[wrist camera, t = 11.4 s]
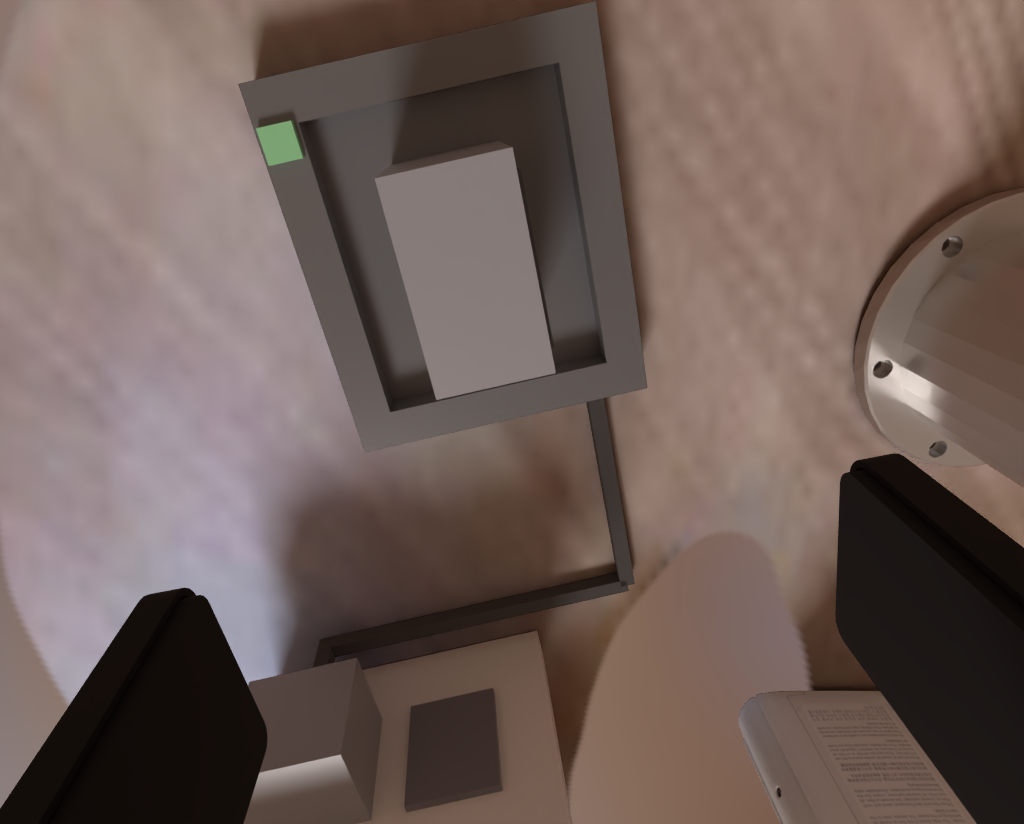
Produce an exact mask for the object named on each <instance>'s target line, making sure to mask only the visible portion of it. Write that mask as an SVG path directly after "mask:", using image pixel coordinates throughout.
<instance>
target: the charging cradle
mask: <svg viewBox="0 0 1024 824" xmlns="http://www.w3.org/2000/svg"><path fill="white" fill-rule="evenodd" d="M238 85H239V88H240V91H241V94H242V97H243V99H244V102H245V105H246V108H247V111H248V114H249V117H250V120H251V123H252V126H253V129H254V131H255V134H256V137H257V140H258V143H259V146H260V149H261V152H262V155H263V158H264V160H265V163H266V166H267V169H268V172H269V175H270V178H271V181H272V184H273V187H274V189H275V192H276V195H277V198H278V201H279V204H280V207H281V210H282V213H283V216H284V218H285V221H286V224H287V227H288V230H289V233H290V236H291V239H292V242H293V245H294V247H295V250H296V253H297V256H298V259H299V262H300V265H301V268H302V271H303V274H304V276H305V279H306V282H307V285H308V288H309V291H310V294H311V297H312V300H313V303H314V305H315V308H316V311H317V314H318V317H319V320H320V323H321V326H322V329H323V332H324V335H325V337H326V340H327V343H328V346H329V349H330V352H331V355H332V358H333V361H334V364H335V366H336V369H337V372H338V375H339V378H340V381H341V384H342V387H343V390H344V393H345V395H346V398H347V401H348V404H349V407H350V410H351V413H352V416H353V419H354V422H355V424H356V427H357V430H358V433H359V436H360V439H361V442H362V445H363V448H364V451H365V452H369V451H374V450H378V449H382V448H387V447H391V446H396V445H400V444H404V443H409V442H413V441H417V440H422V439H426V438H431V437H435V436H439V435H444V434H448V433H453V432H457V431H461V430H466V429H470V428H474V427H479V426H483V425H488V424H492V423H496V422H501V421H505V420H510V419H514V418H518V417H523V416H527V415H531V414H536V413H540V412H545V411H549V410H553V409H558V408H562V407H567V406H571V405H575V404H580V403H584V402H589V401H593V400H597V399H602V398H606V397H610V396H615V395H619V394H624V393H628V392H632V391H637V390H641V389H646V388H647V381H646V373H645V366H644V358H643V351H642V343H641V336H640V328H639V321H638V313H637V306H636V298H635V291H634V283H633V276H632V268H631V261H630V253H629V246H628V238H627V231H626V223H625V216H624V208H623V201H622V193H621V186H620V178H619V171H618V163H617V156H616V148H615V141H614V133H613V126H612V118H611V111H610V103H609V96H608V88H607V81H606V73H605V66H604V58H603V51H602V43H601V36H600V28H599V21H598V13H597V6H596V1H594V2H589V3H585V4H581V5H576V6H572V7H568V8H563V9H559V10H555V11H551V12H546V13H542V14H538V15H533V16H529V17H525V18H520V19H516V20H512V21H507V22H503V23H499V24H494V25H490V26H486V27H482V28H477V29H473V30H469V31H464V32H460V33H456V34H451V35H447V36H443V37H438V38H434V39H430V40H426V41H421V42H417V43H413V44H408V45H404V46H400V47H395V48H391V49H387V50H382V51H378V52H374V53H369V54H365V55H361V56H357V57H352V58H348V59H344V60H339V61H335V62H331V63H326V64H322V65H318V66H313V67H309V68H305V69H300V70H296V71H292V72H288V73H283V74H279V75H275V76H270V77H266V78H262V79H257V80H253V81H249V82H244V83H240V84H238ZM494 141H501V142H503V143H505V144H507V145H509V146H511V147H513V152H514V157H515V162H516V167H517V168H518V169H520V170H521V174H522V179H523V184H524V190H525V195H526V200H527V205H528V211H529V216H530V221H531V227H532V232H533V237H534V242H535V248H536V253H537V258H538V264H539V269H540V274H541V279H542V285H543V290H544V295H545V301H546V306H547V311H548V316H549V322H550V327H551V332H552V338H553V343H554V348H551V350H552V356H553V361H554V366H555V371H556V373H554V374H550V375H545V376H541V377H536V378H532V379H528V380H523V381H519V382H514V383H510V384H505V385H501V386H497V387H492V388H488V389H483V390H479V391H474V392H470V393H465V394H461V395H457V396H452V397H448V398H443V399H439V400H436V397H435V394H434V390H433V386H432V383H431V379H430V376H429V372H428V369H427V365H426V361H425V358H424V354H423V351H422V347H421V343H420V340H419V336H418V333H417V329H416V325H415V322H414V318H413V315H412V311H411V308H410V304H409V300H408V297H407V293H406V290H405V286H404V282H403V279H402V275H401V272H400V268H399V264H398V261H397V257H396V254H395V250H394V246H393V243H392V239H391V236H390V232H389V229H388V225H387V221H386V218H385V214H384V211H383V207H382V203H381V200H380V196H379V193H378V189H377V185H376V182H375V178H376V177H377V176H378V175H379V174H381V173H382V172H383V171H384V170H386V169H387V168H388V167H389V166H390V165H392V164H397V163H401V162H406V161H410V160H414V159H419V158H423V157H428V156H432V155H436V154H441V153H445V152H450V151H454V150H458V149H463V148H467V147H472V146H476V145H480V144H485V143H489V142H494Z"/></svg>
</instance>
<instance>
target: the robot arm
mask: <svg viewBox="0 0 1024 824" xmlns="http://www.w3.org/2000/svg"><path fill="white" fill-rule="evenodd" d="M854 378H855V385H856V392H857V396H858V399H859V401H860V404H861V406H862V409H863V411H864V414H865V416H866V417H867V418H868V420H869V421H870V422H871V424H872V425H873V427H874V428H875V429H876V431H877V432H878V433H879V434H881V435H882V436H883V437H884V438H886V439H887V440H888V441H889V442H890V443H892V444H893V445H894V446H895V447H897V448H899V449H900V450H902V451H903V452H905V453H906V454H908V455H910V456H911V457H913V458H916V459H918V460H921V461H924V462H926V463H930V464H935V465H942V466H950V467H964V466H979V465H984V464H987V465H989V466H991V467H992V468H994V469H995V470H997V471H998V472H1000V473H1001V474H1003V475H1004V476H1006V477H1008V478H1009V479H1011V480H1012V481H1014V482H1015V483H1017V484H1018V485H1020V486H1022V487H1023V488H1024V188H1018V189H1013V190H1009V191H1005V192H1000V193H996V194H992V195H989V196H987V197H984V198H982V199H980V200H977V201H975V202H972V203H970V204H968V205H965V206H963V207H961V208H960V209H958V210H956V211H955V212H953V213H952V214H950V215H948V216H947V217H945V218H944V219H942V220H940V221H939V222H937V223H936V224H934V225H933V226H932V227H931V228H930V229H929V230H927V231H926V232H925V233H924V234H923V235H922V236H920V237H919V238H918V239H917V240H916V241H915V242H913V243H912V244H911V245H910V246H909V247H908V249H907V250H906V251H905V252H904V253H903V254H902V255H901V257H900V258H899V259H898V260H897V261H896V262H895V263H894V265H893V266H892V267H891V268H890V269H889V271H888V272H887V274H886V276H885V277H884V279H883V280H882V282H881V283H880V285H879V286H878V288H877V290H876V291H875V293H874V294H873V296H872V299H871V301H870V303H869V306H868V308H867V310H866V312H865V315H864V317H863V319H862V322H861V326H860V330H859V334H858V338H857V342H856V346H855V357H854ZM836 623H837V627H838V630H839V633H840V635H841V637H842V639H843V641H844V643H845V644H846V645H847V647H848V648H849V650H850V651H851V652H852V654H853V655H854V656H855V658H856V659H857V661H858V662H859V663H860V665H861V666H862V667H863V669H864V670H865V671H866V673H867V674H868V676H869V677H870V678H871V680H872V681H873V682H874V684H875V685H876V687H877V688H878V689H879V691H880V692H881V693H882V695H883V696H884V697H885V699H886V700H887V702H888V703H889V704H890V706H891V707H892V708H893V710H894V711H895V713H896V714H897V715H898V717H899V718H900V719H901V721H902V722H903V723H904V725H905V726H906V728H907V729H908V730H909V732H910V733H911V734H912V736H913V737H914V739H915V740H916V741H917V743H918V744H919V745H920V747H921V748H922V749H923V751H924V752H925V754H926V755H927V756H928V758H929V759H930V760H931V762H932V763H933V765H934V766H935V767H936V769H937V770H938V771H939V773H940V774H941V775H942V777H943V778H944V780H945V781H946V782H947V784H948V785H949V786H950V788H951V789H952V791H953V792H954V793H955V795H956V796H957V797H958V799H959V800H960V801H961V803H962V804H963V806H964V807H965V808H966V810H967V811H968V812H969V814H970V815H971V817H972V818H973V819H974V821H975V822H976V823H977V824H1024V548H1023V547H1022V546H1021V545H1019V544H1018V543H1017V542H1015V541H1014V540H1013V539H1012V538H1010V537H1009V536H1008V535H1006V534H1005V533H1004V532H1002V531H1001V530H1000V529H998V528H997V527H996V526H994V525H993V524H992V523H991V522H989V521H988V520H987V519H985V518H984V517H983V516H981V515H980V514H979V513H977V512H976V511H975V510H974V509H972V508H971V507H970V506H968V505H967V504H966V503H964V502H963V501H962V500H960V499H959V498H958V497H956V496H955V495H954V494H953V493H951V492H950V491H949V490H947V489H946V488H945V487H943V486H942V485H941V484H939V483H938V482H937V481H936V480H934V479H933V478H932V477H930V476H929V475H928V474H926V473H925V472H924V471H922V470H921V469H920V468H918V467H917V466H916V465H915V464H913V463H912V462H911V461H909V460H908V459H907V458H905V457H904V456H902V455H900V454H889V455H883V456H878V457H873V458H868V459H862V460H857V461H855V462H854V463H853V464H852V466H851V469H850V472H848V473H845V474H843V475H842V477H841V481H840V500H839V529H838V558H837V587H836ZM267 740H268V738H267V728H266V725H265V722H264V720H263V717H262V715H261V713H260V711H259V709H258V707H257V704H256V702H255V700H254V698H253V696H252V694H251V692H250V689H249V687H248V685H247V683H246V681H245V679H244V677H243V674H242V672H241V670H240V668H239V666H238V664H237V661H236V659H235V657H234V655H233V653H232V651H231V649H230V646H229V644H228V642H227V640H226V638H225V636H224V634H223V631H222V629H221V627H220V625H219V623H218V621H217V619H216V616H215V614H214V612H213V610H212V608H211V606H210V603H209V602H208V600H207V599H206V598H205V597H204V596H202V595H198V596H196V595H195V593H194V592H193V591H192V590H191V589H189V588H180V589H175V590H170V591H165V592H159V593H154V594H149V595H146V596H144V597H143V598H142V599H141V600H140V601H139V602H138V604H137V605H136V607H135V608H134V610H133V611H132V613H131V614H130V616H129V617H128V619H127V620H126V622H125V623H124V625H123V626H122V628H121V629H120V631H119V632H118V633H117V635H116V636H115V638H114V639H113V641H112V642H111V644H110V645H109V647H108V648H107V650H106V651H105V653H104V654H103V656H102V657H101V659H100V660H99V662H98V663H97V665H96V666H95V668H94V669H93V671H92V672H91V674H90V675H89V677H88V678H87V680H86V681H85V683H84V684H83V686H82V687H81V689H80V690H79V692H78V693H77V695H76V696H75V698H74V699H73V701H72V702H71V704H70V705H69V707H68V708H67V710H66V711H65V713H64V715H63V716H62V717H61V719H60V720H59V722H58V723H57V725H56V726H55V728H54V729H53V731H52V732H51V734H50V735H49V737H48V738H47V740H46V741H45V743H44V744H43V746H42V747H41V749H40V750H39V752H38V753H37V755H36V756H35V758H34V759H33V761H32V762H31V764H30V765H29V767H28V768H27V770H26V771H25V773H24V774H23V776H22V777H21V779H20V780H19V782H18V783H17V785H16V786H15V788H14V789H13V791H12V792H11V794H10V795H9V797H8V798H7V800H6V801H5V803H4V804H3V806H2V807H1V809H0V824H244V821H245V817H246V814H247V811H248V808H249V805H250V801H251V798H252V795H253V792H254V788H255V785H256V782H257V779H258V775H259V772H260V769H261V766H262V762H263V759H264V756H265V753H266V749H267Z"/></svg>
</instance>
